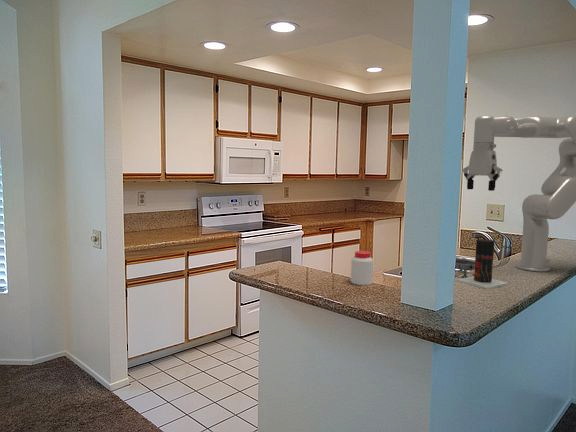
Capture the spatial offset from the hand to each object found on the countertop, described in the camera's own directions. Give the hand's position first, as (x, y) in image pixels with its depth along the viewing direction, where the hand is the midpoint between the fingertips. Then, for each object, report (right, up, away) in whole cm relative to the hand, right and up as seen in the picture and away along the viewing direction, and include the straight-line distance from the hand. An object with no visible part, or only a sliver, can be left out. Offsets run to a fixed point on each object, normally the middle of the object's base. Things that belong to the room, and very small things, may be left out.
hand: (480, 189), depth 180 cm
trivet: (-7, -35, -18) cm, 40 cm away
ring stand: (-9, -34, -5) cm, 36 cm away
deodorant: (-7, -35, -18) cm, 40 cm away
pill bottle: (-52, -35, -20) cm, 66 cm away
